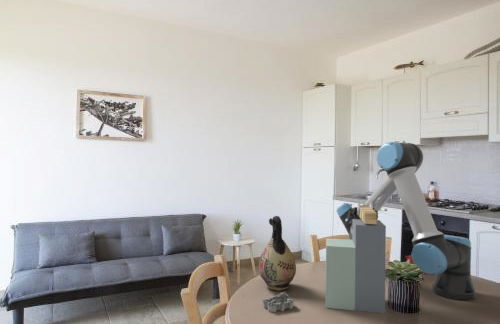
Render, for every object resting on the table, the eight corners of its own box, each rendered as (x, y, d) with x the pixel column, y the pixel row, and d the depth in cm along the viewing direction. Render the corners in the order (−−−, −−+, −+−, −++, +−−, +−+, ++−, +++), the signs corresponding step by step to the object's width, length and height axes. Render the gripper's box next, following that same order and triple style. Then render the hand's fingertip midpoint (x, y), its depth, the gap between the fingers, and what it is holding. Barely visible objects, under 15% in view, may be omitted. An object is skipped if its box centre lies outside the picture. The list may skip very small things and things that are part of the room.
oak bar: (357, 214, 148) (358, 205, 148) (367, 215, 147) (368, 205, 147) (364, 223, 124) (364, 212, 124) (376, 224, 124) (376, 212, 124)
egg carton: (286, 302, 132) (286, 291, 132) (296, 309, 125) (296, 298, 125) (260, 306, 128) (260, 294, 128) (269, 314, 121) (269, 302, 121)
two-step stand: (325, 293, 140) (326, 218, 141) (378, 298, 136) (379, 220, 137) (325, 307, 127) (326, 223, 127) (384, 313, 123) (385, 226, 123)
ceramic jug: (256, 281, 155) (257, 212, 155) (291, 280, 156) (291, 212, 157) (261, 295, 138) (262, 218, 138) (300, 294, 140) (301, 218, 140)
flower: (422, 272, 165) (426, 257, 168) (401, 265, 170) (406, 250, 173) (421, 279, 172) (425, 264, 175) (401, 272, 177) (406, 257, 180)
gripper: (340, 218, 163) (342, 196, 143) (379, 220, 159) (387, 197, 140) (340, 234, 159) (343, 213, 139) (380, 236, 156) (389, 215, 136)
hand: (365, 205), depth 140 cm, fingers closed on oak bar, 4 cm apart
